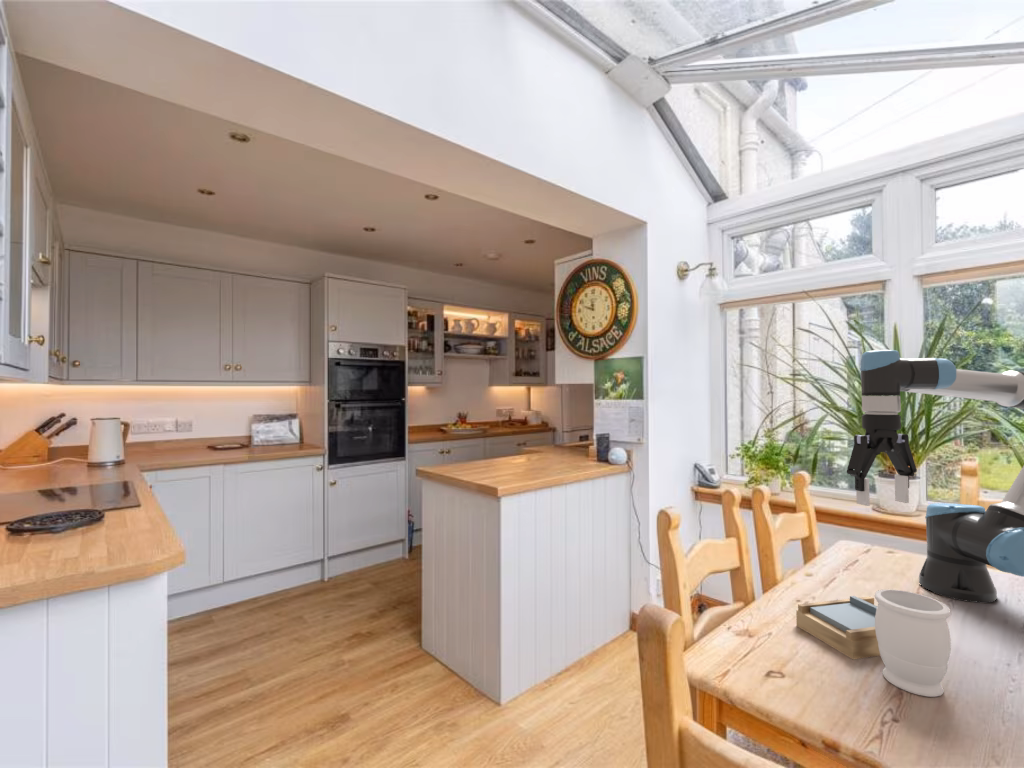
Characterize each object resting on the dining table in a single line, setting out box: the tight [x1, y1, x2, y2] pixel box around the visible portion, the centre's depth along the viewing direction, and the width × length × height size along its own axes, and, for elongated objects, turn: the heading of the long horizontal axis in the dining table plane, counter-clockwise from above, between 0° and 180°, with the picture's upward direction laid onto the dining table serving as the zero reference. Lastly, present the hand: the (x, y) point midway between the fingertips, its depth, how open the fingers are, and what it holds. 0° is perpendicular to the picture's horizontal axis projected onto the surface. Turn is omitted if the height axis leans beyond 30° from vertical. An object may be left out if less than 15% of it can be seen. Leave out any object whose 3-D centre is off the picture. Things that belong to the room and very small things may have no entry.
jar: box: [874, 588, 952, 698], centre depth 86 cm, size 11×10×15 cm
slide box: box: [795, 596, 881, 660], centre depth 103 cm, size 20×14×5 cm
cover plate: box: [810, 595, 878, 632], centre depth 102 cm, size 12×10×3 cm
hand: (882, 503), depth 115 cm, fingers open, 11 cm apart
